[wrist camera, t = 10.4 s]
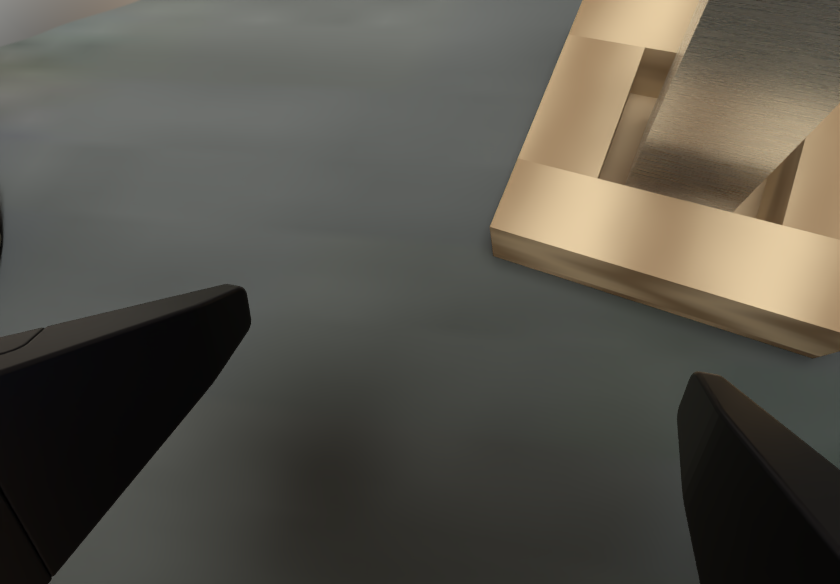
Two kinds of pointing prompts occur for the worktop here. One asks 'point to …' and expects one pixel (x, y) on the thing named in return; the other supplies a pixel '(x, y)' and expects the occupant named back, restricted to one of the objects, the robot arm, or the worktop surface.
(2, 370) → the robot arm
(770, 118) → the grey rectangular block
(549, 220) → the socket block
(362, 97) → the worktop surface
